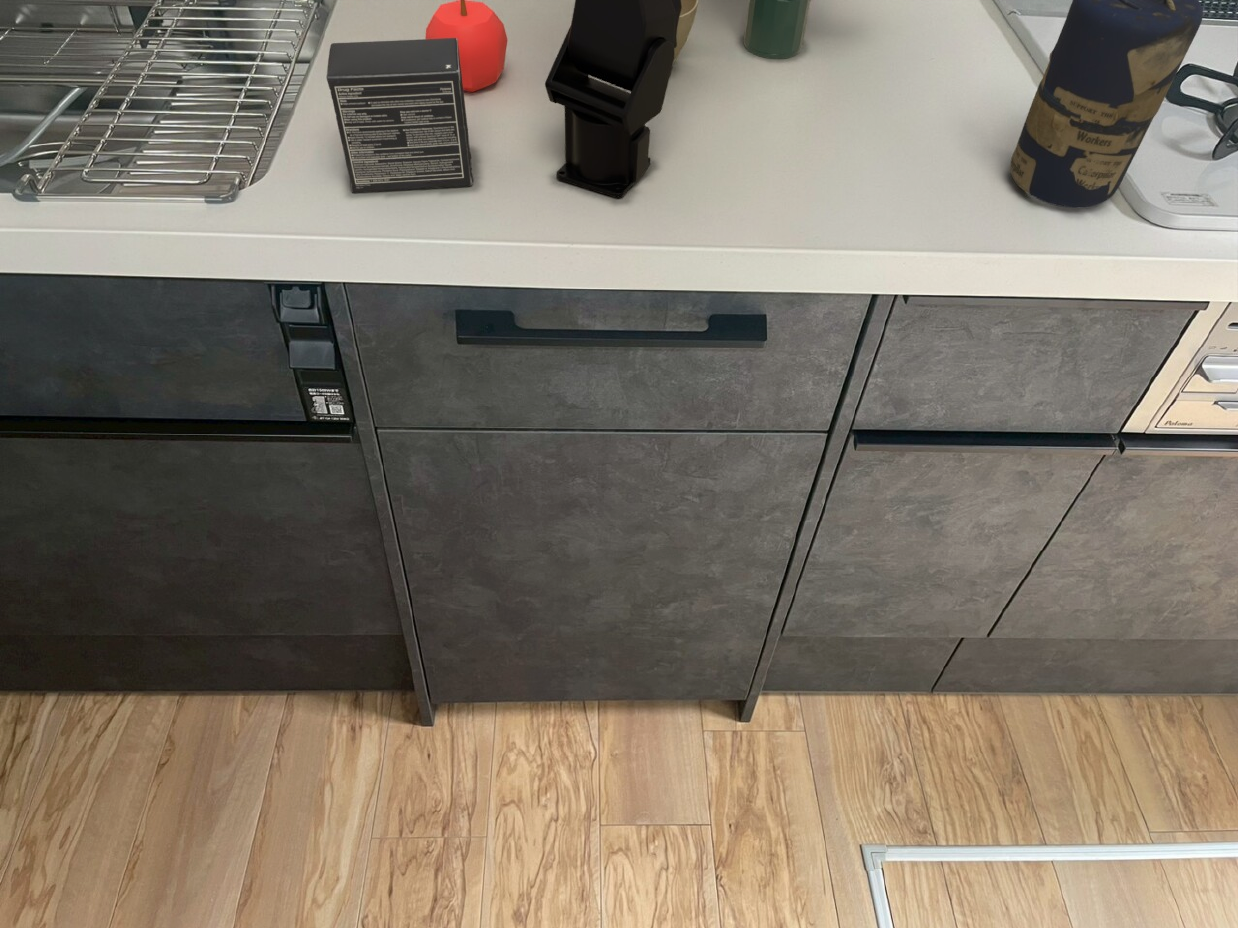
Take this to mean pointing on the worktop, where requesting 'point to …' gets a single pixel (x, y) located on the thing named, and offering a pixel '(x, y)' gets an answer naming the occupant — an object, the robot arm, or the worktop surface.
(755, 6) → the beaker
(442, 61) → the small box
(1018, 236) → the worktop surface
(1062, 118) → the canister
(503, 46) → the apple
